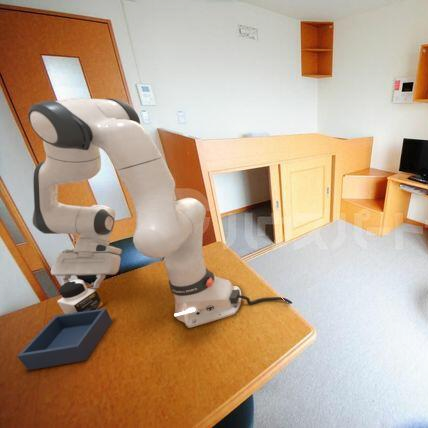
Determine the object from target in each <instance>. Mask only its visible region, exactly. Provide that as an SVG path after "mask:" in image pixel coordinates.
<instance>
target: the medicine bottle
mask: <svg viewBox="0 0 428 428" xmlns="http://www.w3.org/2000/svg"><path fill="white" fill-rule="evenodd" d="M62 284H63V283H62ZM62 284H61V285H60V287H59V289H58V292H59V293H60V295H61V298H59V299H57V301H56V302H57V304H58V305H59V307H60V309H61V310H62V312H63V314H69V313H76V312H84V311H91V310H98V309H100V307H102V306H103V305H104V303H103V301H102V299H101V297H100V295H99V293H98V292H97V290H96V289H95V288H90V287H89V288H88V286H87V285H86V283H85V281H84V280H83V279H79V278H77V279H73V280H69V282H67V283H65V284H63V285H62Z"/></svg>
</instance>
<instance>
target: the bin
mask: <svg viewBox="0 0 428 428" xmlns="http://www.w3.org/2000/svg"><path fill="white" fill-rule="evenodd" d="M112 323H113V319H112V317H111V316H110V314H109V312H108V310H107V308H98V309H96V310H91V311H84V312H76V313H69V314H64V313H63V314H57V315H54V317H53V318H52V319H50V321H49V322H48V323H47V324H46V325H45V326H44V327H43V328H42V329H41V330H40V331H39V333H37V334H36V336H35V337H34V338H33V339H32V340H31V341H30V342H29V343H28V344H27V345H26V346H25V347H24V348H23V349H22V350H21V351H20V352H19V353H18V354H17V356H16V357H17V359H18V360H19V361H20V362H21V363H22V364H23V366H24V367H25V368H26V370H27V371H32V370H38V369H43V368H44V369H45V368H50V367H54V366H55V367H56V366H61V365H66V364H67V365H68V364H73V363H79V362H83V361H84V362H85V361H87V360H88V358H90V356H91V354H92V353H93V351H94V350H95V348H96V347H97V345H98V344H99V342H100V341H101V340H102V338H103V336H104V335H105V333H106V332H107V330H108V329H109V327H110V326H111V324H112Z"/></svg>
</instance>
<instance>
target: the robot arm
mask: <svg viewBox="0 0 428 428" xmlns="http://www.w3.org/2000/svg"><path fill="white" fill-rule="evenodd" d="M27 119H28V122H29V124H30V127H31V128H32V130H33V131H34V132H35V134H36V135H37V137H39V138H40V139H41V140H42V142H43V143H42V144H43V149H44V153H45V160H44V161H40V162H39V163H38V164H37V165H36V167H35V168H34V171H33V178H32V180H33V181H32V184H33V186H32V187H33V188H32V189H33V213H32V225H33V226H34V228H35V229H37V231H39V232H40V233H42V234H45V235H46V234H47V235H48V234H49V235H50V234H51V235H52V234H53V235H54V234H55V235H56V234H57V235H60V234H64V235H77V236H78V235H79V236H78V237H77V239H76V242H75V246H74V248H72V249H64V250H62V251H61V252H59V254H58V256H57V257H56V259H55V260H54V262H53V264H52V267H51V269H50V275H51V276H59V277H60V281H61V282H60V283H61V286H62V285H63V284H65V283H67V282H69V281H70V279H71V278H72V276H95V278H96V279H95V281H94V282H91V284H90V287H89V289H99V288H100V285H101V283H102V282H103V281H104V280H105V279H106V277H107V275H112V276H113V275H116V274H117V273H118V272H119V270H120V266H121V256H120V255H121V254H122V251H123V249H121V248H119V247H115V246H113V245H110V242H111V239H110V238H111V235H112V233H113V232H114V227H115V222H116V210H115V209H114V208H112V207H111V206H108V205H105V204H93V205H91V206H81V205H71V204H65V203H62V202H60V201H59V186H63V185H68V184H77V183H82V182H86V181H88V180H91V179H92V178H94V177H95V176H97V175H98V174H99V172H101V169H102V157H101V151H100V149H101V150H102V151H103V152H104V153H105V154H106V155H107V156H108V158H109V160H110V162H111V164H112V166H113V167H114V170H116V172H117V174H118V176H119V178H120V179H121V181H122V183H123V184H124V186H125V189H126V190H127V191H128V193H129V195H130V197H131V200H132V203H133V206H134V212H135V213H134V214H135V222H136V223H135V230H134V234H133V235H132V236H133V237H132V243H133V245H134V247H135V249H136V250H137V251H138V252H139V253H140V254H141V255H142V256H144V257H147V258H150V259H162V258H164V259H163V264H164V268H165V271H166V274H167V277H168V285H169V288H170V291H171V293H172V295H173V298H174V314H173V315H174V317H175V318H176V320H178V321H180V322H182V323H184V325H185V326H186V327H187V328H189V329H190V328H194V327H198V326H201V325H202V326H203V325H205V324H208V323H211V322H214V321H218V320H221V319H225V318H227V317H231V316H234V315H236V313H237V312H238V311H239V309H240V307H241V304H242V299H243V300H246V303H247V304H248V305H254V304H257V303H260V302H264V301H284V300H285V301H284V302H286V303H287V304H290V305H292V304H293V302H292V301H291V300H290V299H288V298H285V297H282V298H283V299H284V300H283V299H282V298H281V296H275V297H274V296H273V297H271V296H270V297H262V298H257V299H255V300H251V299H250V298H249V297H247V296H246V295H242V291H241V289H240V287H239V286H237V285H233V283H232V281H231V280H230V279H226V278H224V277H223V278H222V277H219V276H216V275H215V274H214V272H215V270H214V268H211V270H209V269H208V268H207V267H206V262H205V257H204V252H203V251H204V250H203V240H204V239H203V235H204V223H205V219H206V215H207V210H206V207H205V205H204V204H203V203H202V202H201V201H200V200H198V199H196V198H193V197H184V198H181V199H178V200H176V201H175V188H176V181H175V178H174V177H173V174H172V173H171V171H170V169H169V167H168V165H167V163H166V161H165V159H164V157H163V155H162V153H161V152H160V150H159V148H158V147H157V145H156V143H155V142H154V140H153V138H152V137H151V136H150V135H149V133H148V132H147V130H146V129H145V128H144V126H142V125H141V120H140V117H139V114H138V113H137V111H136V110H135V108H134V107H133V106H132V105H131V104H129V103H128V102H126V101H124V100H121V99H118V98H109V97H107V98H85V97H74V98H66V99H59V100H52V99H51V100H44V101H39V102H37V103H34V104H32V105H31V106H30V107H29V109H28V115H27Z"/></svg>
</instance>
